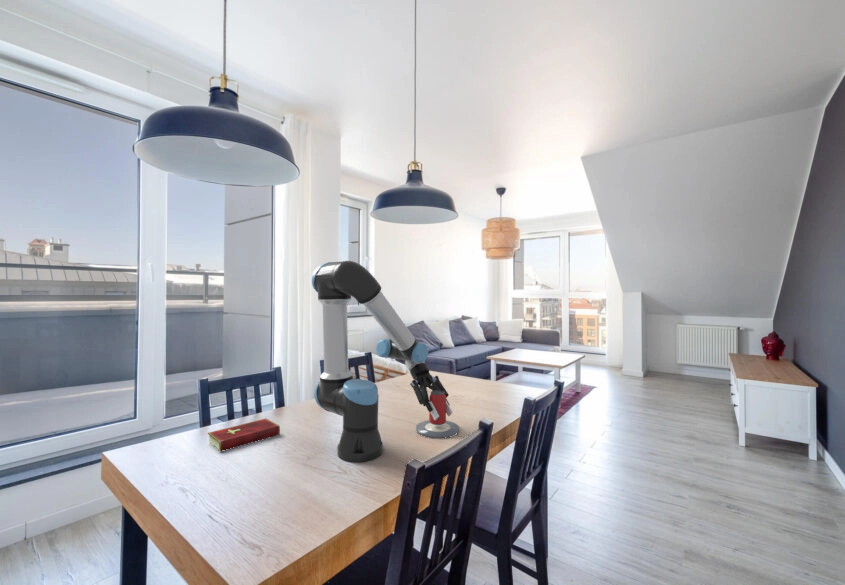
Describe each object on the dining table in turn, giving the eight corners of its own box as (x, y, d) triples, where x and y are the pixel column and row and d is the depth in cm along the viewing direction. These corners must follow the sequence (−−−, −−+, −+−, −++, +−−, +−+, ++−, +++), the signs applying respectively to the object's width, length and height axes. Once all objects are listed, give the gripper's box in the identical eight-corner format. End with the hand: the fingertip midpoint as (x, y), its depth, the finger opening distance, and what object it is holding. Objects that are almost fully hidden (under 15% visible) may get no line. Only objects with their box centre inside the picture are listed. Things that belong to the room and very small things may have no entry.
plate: (442, 442, 133) (442, 438, 133) (407, 431, 144) (407, 427, 144) (467, 429, 146) (467, 425, 146) (434, 419, 157) (434, 416, 157)
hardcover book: (279, 436, 139) (280, 424, 139) (219, 453, 124) (219, 441, 124) (265, 428, 148) (265, 417, 148) (207, 443, 132) (207, 431, 132)
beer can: (426, 420, 147) (426, 390, 147) (441, 419, 149) (442, 389, 149) (432, 426, 141) (433, 395, 141) (448, 424, 143) (448, 393, 143)
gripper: (430, 369, 163) (456, 416, 151) (394, 375, 151) (420, 427, 138) (438, 359, 159) (466, 406, 147) (402, 364, 147) (429, 416, 134)
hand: (443, 416), depth 142 cm, fingers closed on beer can, 6 cm apart
